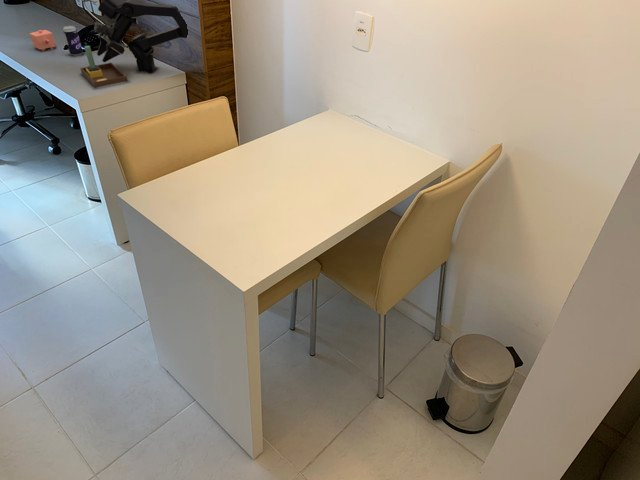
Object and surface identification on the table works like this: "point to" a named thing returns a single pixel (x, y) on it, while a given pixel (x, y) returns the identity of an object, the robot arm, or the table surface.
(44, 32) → the pink cube teapot
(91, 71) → the sponge wand
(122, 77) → the tray
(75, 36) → the beverage can
